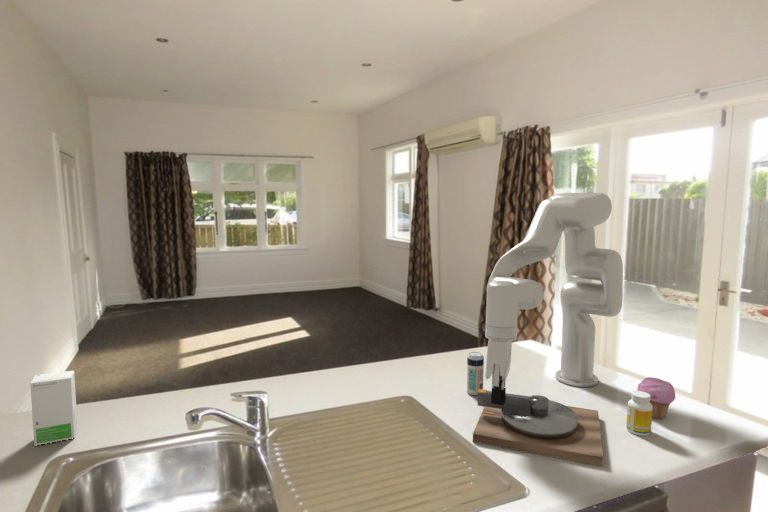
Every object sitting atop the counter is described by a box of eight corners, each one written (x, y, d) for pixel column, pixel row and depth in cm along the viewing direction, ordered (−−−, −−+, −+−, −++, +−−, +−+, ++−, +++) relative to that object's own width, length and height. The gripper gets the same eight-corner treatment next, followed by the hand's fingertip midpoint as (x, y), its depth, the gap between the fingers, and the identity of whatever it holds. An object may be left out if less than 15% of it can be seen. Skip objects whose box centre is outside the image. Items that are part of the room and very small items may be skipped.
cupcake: (635, 405, 128) (637, 370, 127) (672, 412, 124) (675, 376, 123) (635, 418, 120) (638, 382, 119) (675, 426, 116) (677, 388, 115)
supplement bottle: (621, 428, 115) (623, 391, 114) (635, 424, 117) (637, 388, 116) (641, 438, 110) (643, 400, 109) (655, 433, 113) (658, 396, 111)
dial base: (489, 401, 131) (489, 393, 131) (597, 417, 121) (598, 409, 121) (472, 441, 109) (472, 433, 109) (602, 466, 99) (603, 456, 99)
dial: (575, 410, 120) (576, 388, 120) (579, 444, 103) (580, 419, 103) (482, 397, 128) (483, 377, 128) (472, 427, 111) (472, 404, 111)
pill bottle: (482, 390, 139) (482, 351, 138) (484, 396, 134) (484, 357, 133) (466, 389, 140) (466, 351, 138) (467, 396, 135) (468, 356, 133)
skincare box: (33, 447, 108) (27, 383, 106) (39, 435, 114) (33, 374, 112) (76, 438, 112) (70, 377, 110) (79, 427, 118) (74, 368, 116)
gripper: (490, 323, 122) (488, 390, 124) (480, 337, 108) (477, 412, 110) (520, 326, 119) (517, 395, 121) (513, 341, 105) (509, 418, 107)
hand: (498, 403), depth 115 cm, fingers closed
